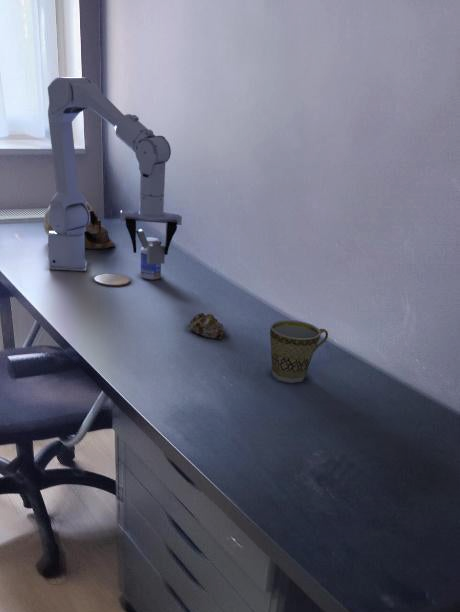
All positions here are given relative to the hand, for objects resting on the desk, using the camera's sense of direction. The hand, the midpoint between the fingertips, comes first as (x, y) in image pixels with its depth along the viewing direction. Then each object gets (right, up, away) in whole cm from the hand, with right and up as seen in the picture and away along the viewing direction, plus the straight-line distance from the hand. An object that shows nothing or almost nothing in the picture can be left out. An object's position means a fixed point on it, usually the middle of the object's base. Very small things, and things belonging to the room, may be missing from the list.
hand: (150, 252), depth 176 cm
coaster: (-11, -4, +9) cm, 14 cm away
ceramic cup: (+33, -36, -30) cm, 58 cm away
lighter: (0, -2, +2) cm, 3 cm away
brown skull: (-25, +15, +34) cm, 45 cm away
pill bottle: (-2, -1, +14) cm, 14 cm away
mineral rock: (+15, -23, -15) cm, 31 cm away
